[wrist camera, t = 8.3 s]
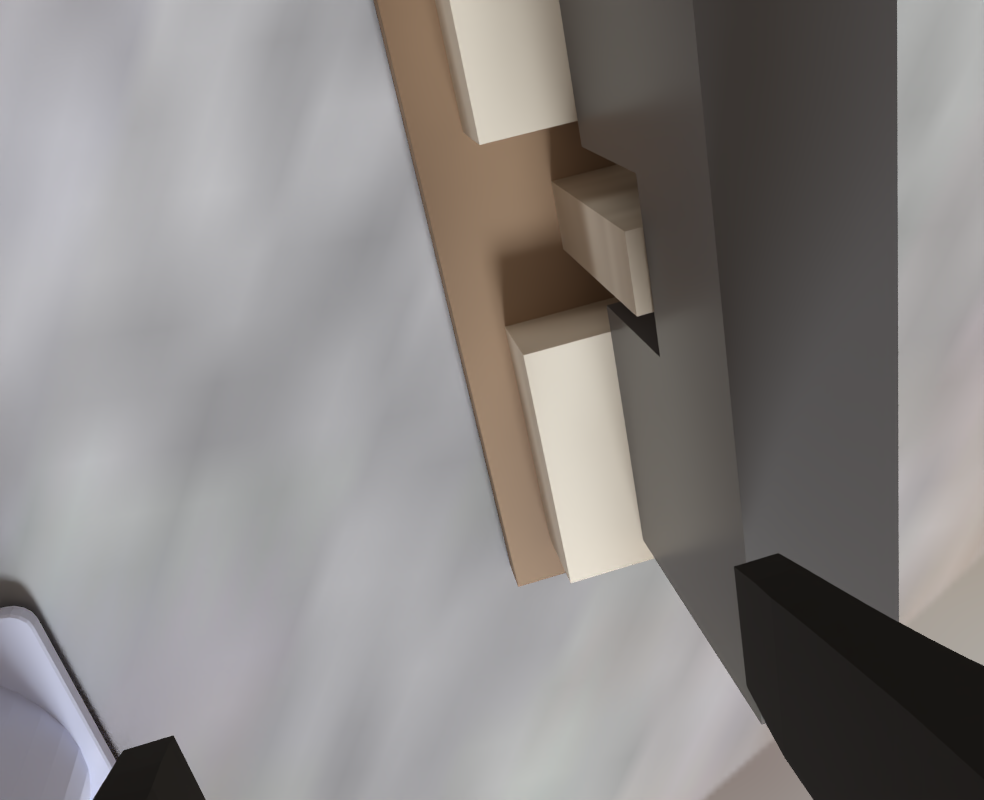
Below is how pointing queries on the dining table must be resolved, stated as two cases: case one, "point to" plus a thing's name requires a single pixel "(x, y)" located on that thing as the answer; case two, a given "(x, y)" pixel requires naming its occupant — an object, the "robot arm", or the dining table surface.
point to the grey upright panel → (755, 285)
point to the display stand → (527, 270)
